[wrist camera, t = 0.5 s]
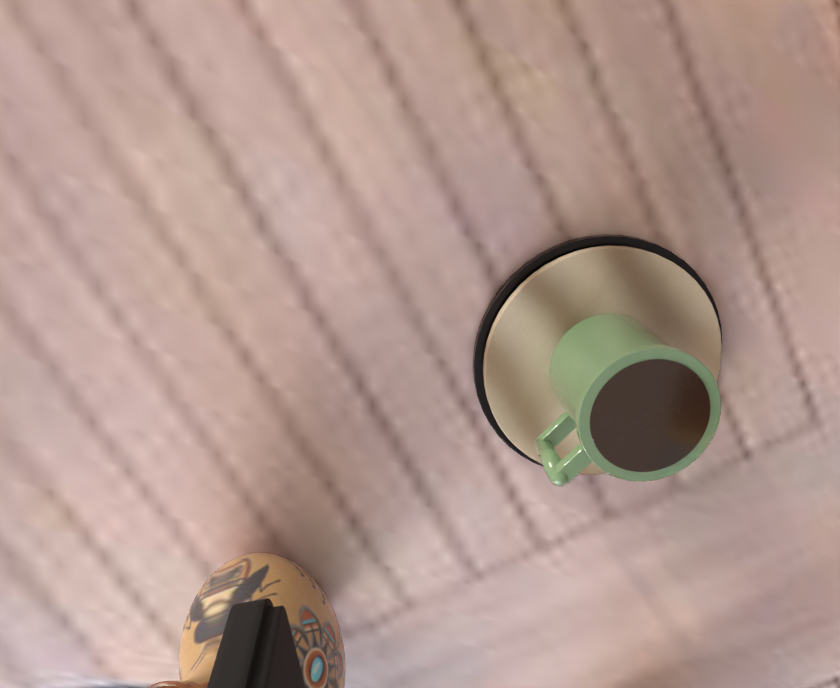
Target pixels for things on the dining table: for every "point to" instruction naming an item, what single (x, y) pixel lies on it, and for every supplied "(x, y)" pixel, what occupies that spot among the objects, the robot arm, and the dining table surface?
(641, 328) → the coffee cup on saucer
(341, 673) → the ceramic vessel
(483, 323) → the base
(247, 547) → the dining table surface
